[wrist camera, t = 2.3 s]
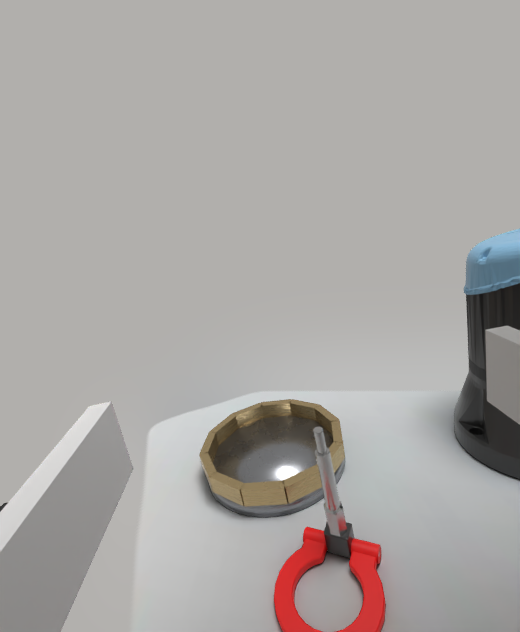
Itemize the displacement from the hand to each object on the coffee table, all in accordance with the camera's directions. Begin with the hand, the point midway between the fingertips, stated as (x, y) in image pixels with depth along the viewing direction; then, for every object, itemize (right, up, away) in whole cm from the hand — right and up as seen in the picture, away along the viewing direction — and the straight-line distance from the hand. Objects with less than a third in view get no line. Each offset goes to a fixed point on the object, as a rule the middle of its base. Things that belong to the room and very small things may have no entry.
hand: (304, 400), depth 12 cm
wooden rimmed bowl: (0, -15, +32) cm, 35 cm away
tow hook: (+4, -19, +16) cm, 25 cm away
